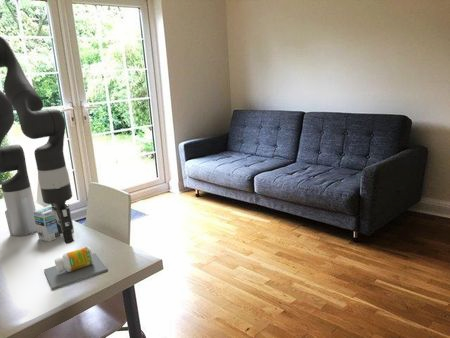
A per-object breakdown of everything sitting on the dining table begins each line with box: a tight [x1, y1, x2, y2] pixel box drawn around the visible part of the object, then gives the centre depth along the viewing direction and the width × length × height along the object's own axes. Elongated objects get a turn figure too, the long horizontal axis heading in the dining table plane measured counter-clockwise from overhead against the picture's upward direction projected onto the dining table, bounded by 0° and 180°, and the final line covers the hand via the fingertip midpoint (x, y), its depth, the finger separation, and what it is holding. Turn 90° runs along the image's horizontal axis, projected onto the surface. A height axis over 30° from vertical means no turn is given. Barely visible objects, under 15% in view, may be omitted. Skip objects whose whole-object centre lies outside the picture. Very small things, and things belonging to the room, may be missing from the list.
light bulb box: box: [33, 203, 75, 243], centre depth 135 cm, size 11×7×11 cm, turn 148°
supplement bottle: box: [54, 246, 94, 273], centre depth 108 cm, size 5×5×10 cm
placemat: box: [43, 252, 109, 291], centre depth 109 cm, size 15×13×1 cm
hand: (65, 237), depth 106 cm, fingers open, 8 cm apart
